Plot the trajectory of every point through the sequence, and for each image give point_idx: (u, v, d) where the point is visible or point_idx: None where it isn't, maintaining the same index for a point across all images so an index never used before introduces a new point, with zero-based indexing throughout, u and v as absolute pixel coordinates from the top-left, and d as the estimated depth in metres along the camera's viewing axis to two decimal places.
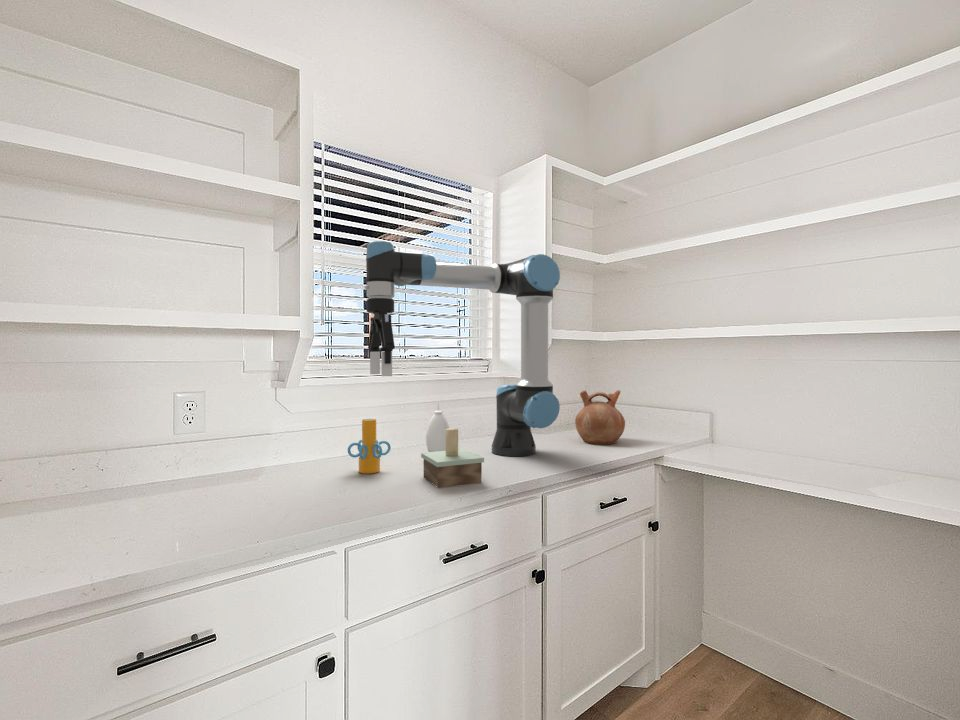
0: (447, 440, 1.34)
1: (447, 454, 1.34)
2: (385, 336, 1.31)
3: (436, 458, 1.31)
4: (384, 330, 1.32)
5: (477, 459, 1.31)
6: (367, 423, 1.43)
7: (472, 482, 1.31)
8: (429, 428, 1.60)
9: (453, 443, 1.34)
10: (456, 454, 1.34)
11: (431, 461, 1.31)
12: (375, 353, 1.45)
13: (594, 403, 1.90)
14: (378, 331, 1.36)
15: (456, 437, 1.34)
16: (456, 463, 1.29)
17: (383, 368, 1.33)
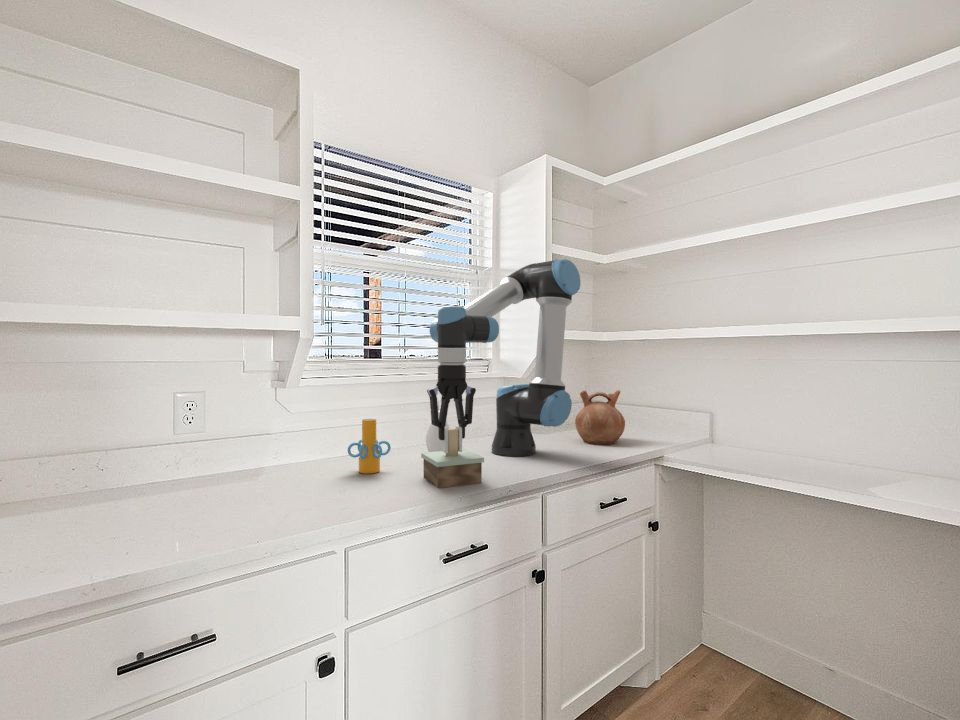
0: None
1: (447, 454, 1.34)
2: (431, 413, 1.34)
3: (436, 458, 1.31)
4: (430, 406, 1.34)
5: (477, 459, 1.31)
6: (367, 423, 1.43)
7: (472, 482, 1.31)
8: (429, 428, 1.60)
9: (453, 443, 1.34)
10: (456, 454, 1.34)
11: (431, 461, 1.31)
12: (457, 428, 1.36)
13: (594, 403, 1.90)
14: None
15: (456, 437, 1.34)
16: (456, 463, 1.29)
17: (442, 443, 1.35)
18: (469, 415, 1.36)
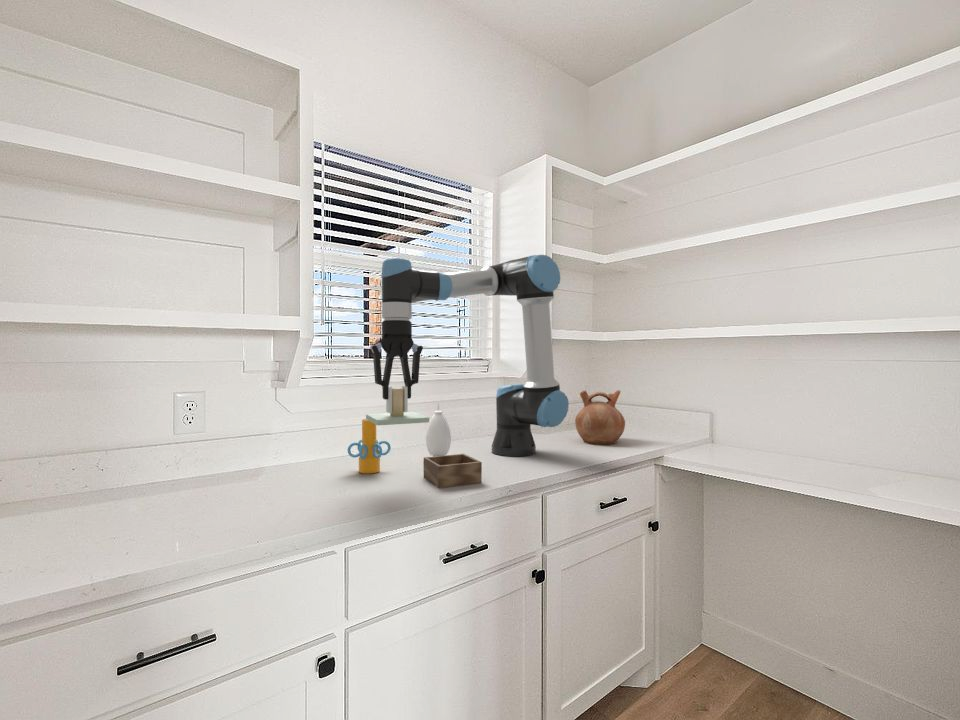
0: None
1: (391, 414, 1.27)
2: (374, 371, 1.27)
3: (378, 417, 1.25)
4: (374, 364, 1.27)
5: (422, 419, 1.25)
6: (367, 423, 1.43)
7: (472, 482, 1.31)
8: (429, 428, 1.60)
9: (397, 402, 1.27)
10: (401, 414, 1.28)
11: (373, 420, 1.24)
12: None
13: (594, 403, 1.90)
14: None
15: (401, 396, 1.28)
16: (398, 422, 1.22)
17: (386, 403, 1.29)
18: (415, 374, 1.29)
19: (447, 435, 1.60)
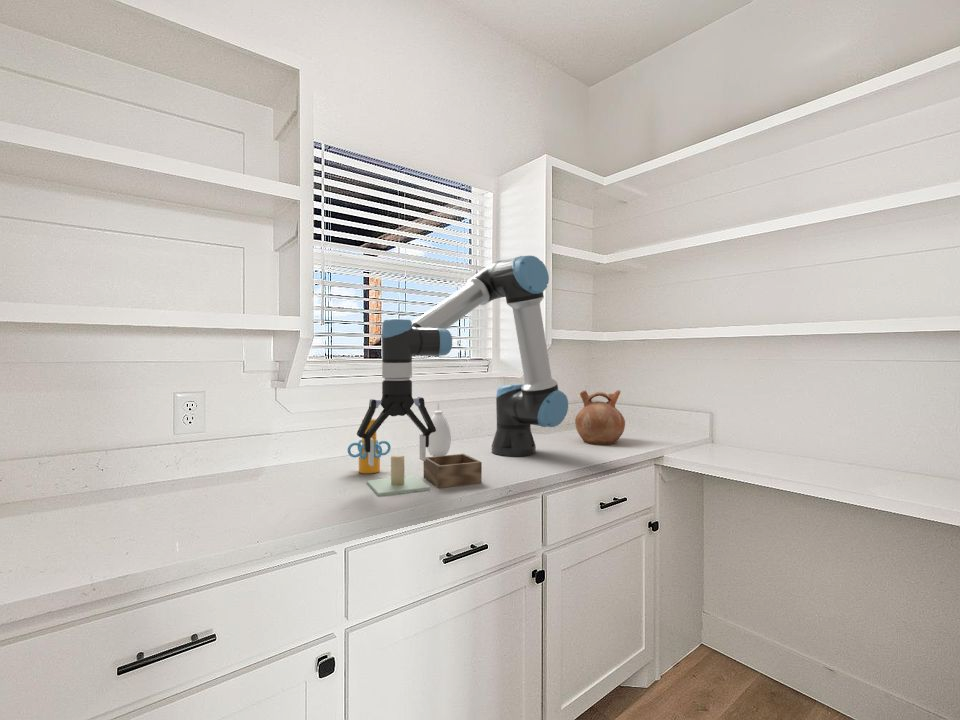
0: (392, 468, 1.28)
1: (392, 483, 1.28)
2: (361, 423, 1.26)
3: (379, 488, 1.25)
4: None
5: (422, 489, 1.25)
6: None
7: (472, 482, 1.31)
8: None
9: (398, 471, 1.27)
10: (402, 483, 1.28)
11: (374, 491, 1.25)
12: (421, 437, 1.32)
13: (594, 403, 1.90)
14: None
15: (402, 465, 1.28)
16: None
17: (368, 455, 1.27)
18: (430, 424, 1.31)
19: (447, 435, 1.60)
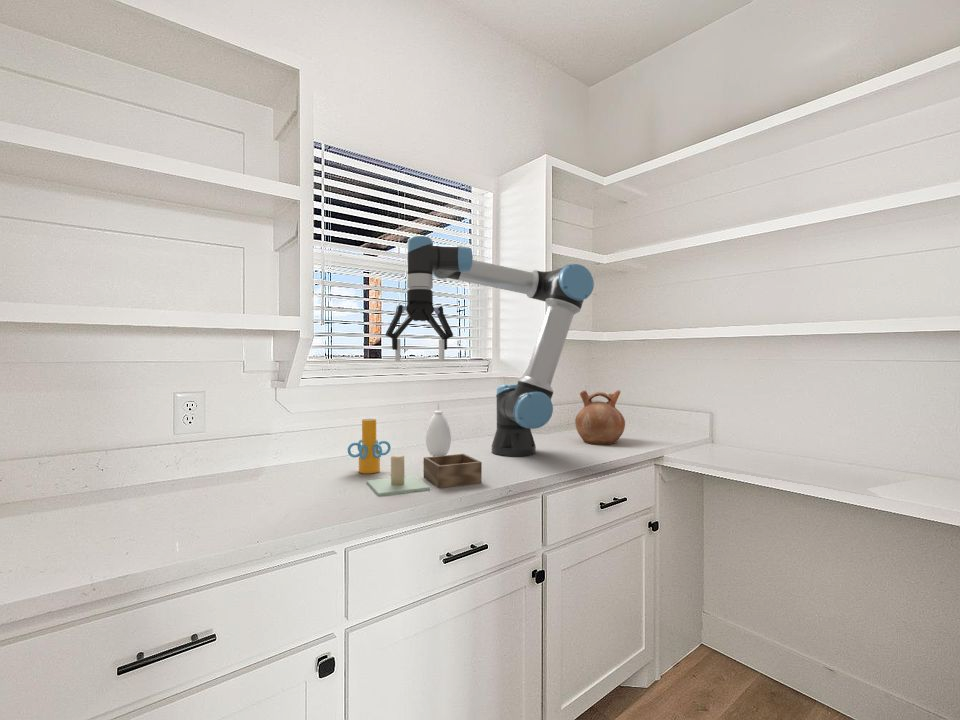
0: (392, 468, 1.28)
1: (392, 483, 1.28)
2: (390, 325, 1.47)
3: (379, 488, 1.25)
4: None
5: (422, 489, 1.25)
6: (367, 423, 1.43)
7: (472, 482, 1.31)
8: (429, 428, 1.60)
9: (398, 471, 1.27)
10: (402, 483, 1.28)
11: (374, 491, 1.25)
12: (440, 341, 1.52)
13: (594, 403, 1.90)
14: None
15: (402, 465, 1.28)
16: None
17: (395, 354, 1.48)
18: (448, 330, 1.52)
19: (447, 435, 1.60)
